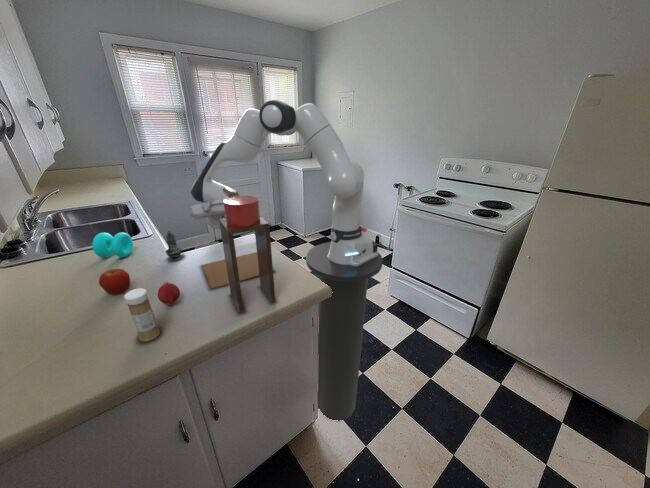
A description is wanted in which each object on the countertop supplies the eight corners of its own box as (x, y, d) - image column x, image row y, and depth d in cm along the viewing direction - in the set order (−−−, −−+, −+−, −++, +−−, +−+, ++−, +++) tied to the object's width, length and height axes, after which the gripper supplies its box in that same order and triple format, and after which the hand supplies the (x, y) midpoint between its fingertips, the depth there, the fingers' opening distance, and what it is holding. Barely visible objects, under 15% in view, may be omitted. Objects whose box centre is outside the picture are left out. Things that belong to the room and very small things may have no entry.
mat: (257, 253, 114) (257, 252, 114) (274, 272, 100) (274, 271, 100) (202, 266, 103) (202, 265, 103) (211, 289, 89) (211, 288, 89)
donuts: (112, 250, 114) (104, 228, 110) (137, 250, 114) (130, 228, 110) (95, 262, 105) (86, 238, 101) (122, 261, 105) (114, 238, 101)
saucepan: (241, 203, 90) (239, 184, 87) (265, 223, 73) (263, 200, 70) (213, 207, 85) (210, 187, 83) (231, 229, 68) (227, 205, 66)
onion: (156, 308, 80) (149, 286, 76) (169, 297, 85) (163, 275, 82) (174, 310, 79) (168, 288, 76) (186, 299, 84) (180, 277, 81)
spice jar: (160, 327, 73) (146, 285, 67) (159, 338, 69) (145, 295, 63) (140, 333, 71) (124, 290, 65) (138, 345, 67) (122, 300, 61)
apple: (110, 301, 83) (102, 279, 79) (99, 293, 86) (91, 272, 83) (137, 289, 89) (130, 268, 85) (126, 282, 92) (119, 262, 89)
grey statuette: (185, 254, 112) (178, 227, 107) (182, 260, 107) (175, 232, 102) (169, 255, 110) (162, 228, 105) (165, 262, 105) (158, 234, 100)
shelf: (263, 286, 91) (257, 213, 81) (275, 301, 84) (269, 223, 73) (231, 295, 86) (218, 219, 75) (239, 313, 78) (227, 230, 68)
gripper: (188, 208, 98) (189, 197, 86) (244, 200, 108) (252, 189, 95) (192, 225, 98) (193, 216, 85) (248, 215, 107) (256, 206, 95)
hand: (225, 202), depth 90 cm, fingers open, 8 cm apart
